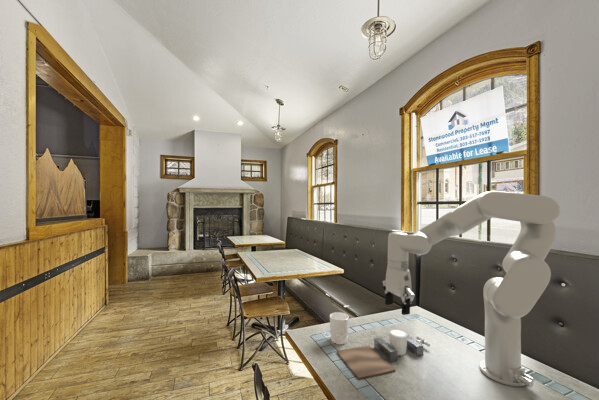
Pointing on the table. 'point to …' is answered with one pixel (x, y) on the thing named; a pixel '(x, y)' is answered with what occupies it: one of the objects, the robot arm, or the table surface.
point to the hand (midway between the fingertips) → (397, 309)
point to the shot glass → (398, 340)
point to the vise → (391, 352)
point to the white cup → (339, 327)
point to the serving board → (365, 362)
